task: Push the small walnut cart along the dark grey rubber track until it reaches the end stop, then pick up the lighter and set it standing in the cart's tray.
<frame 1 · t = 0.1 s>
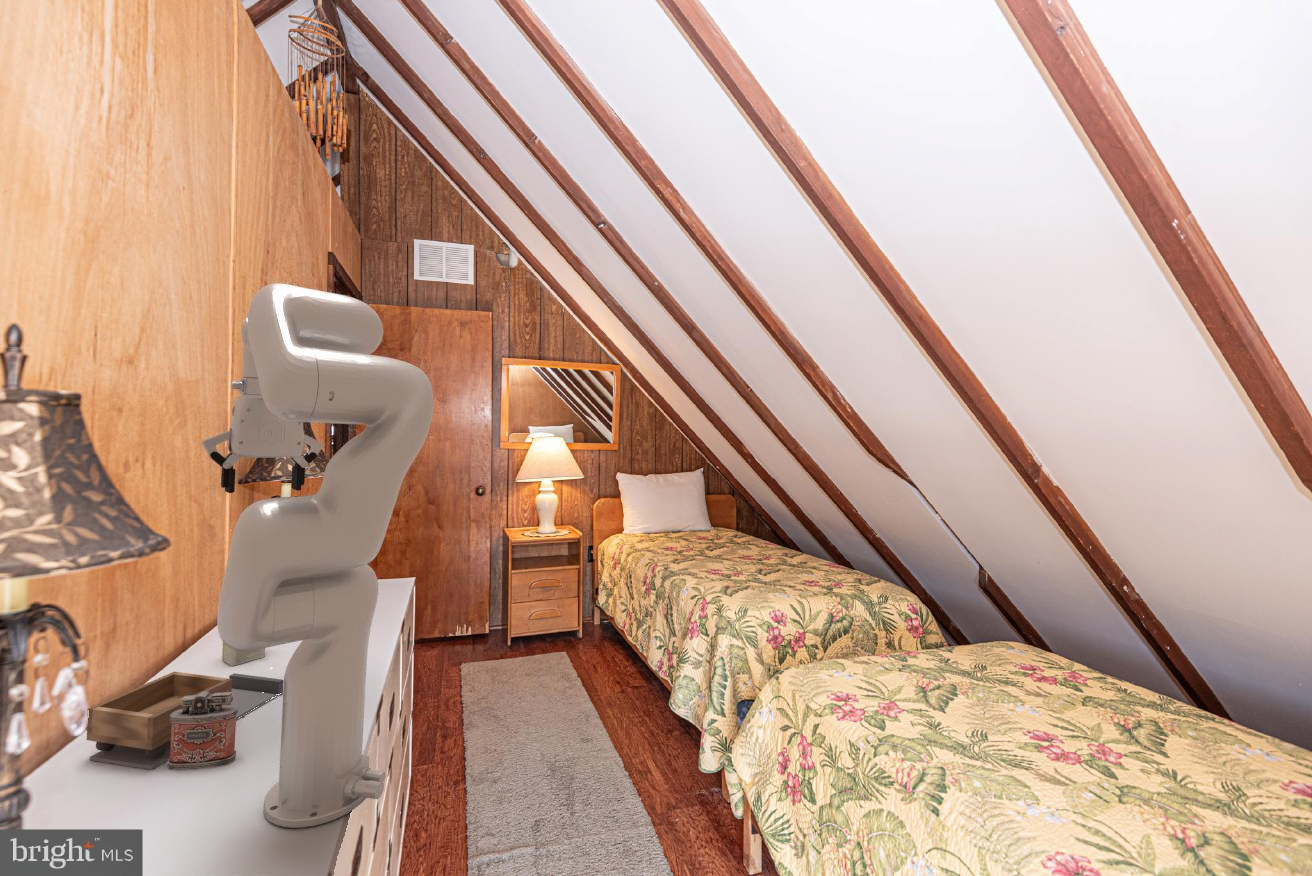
hand: (264, 490, 97), 37 cm above the dresser, tool pointing down, fingers open, 9 cm apart
cart: (163, 714, 86), point 4 cm above the dresser, slide at 0.0 cm
lighter: (202, 763, 82), on the dresser
skincare box: (243, 660, 116), on the dresser
track: (193, 725, 91), on the dresser
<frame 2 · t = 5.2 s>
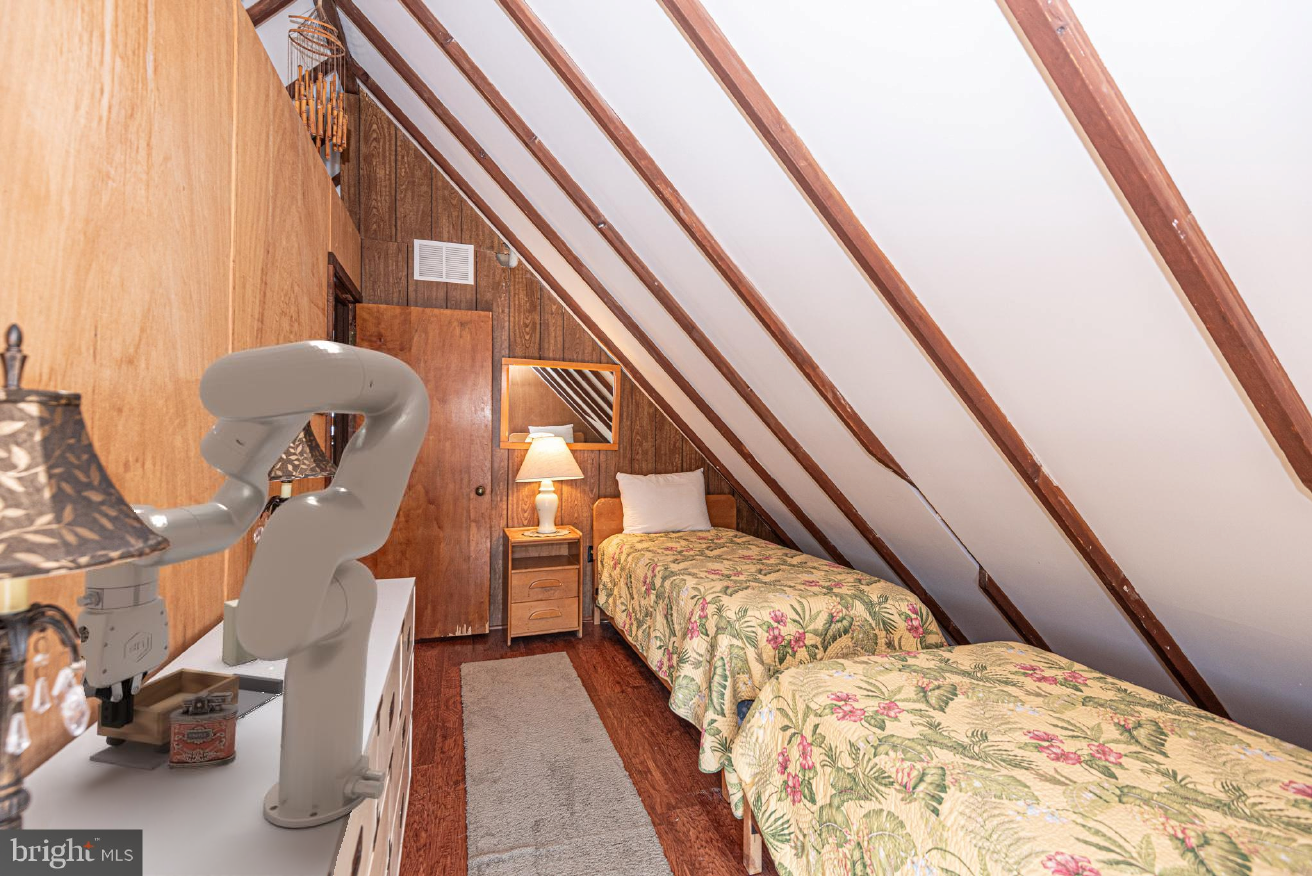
hand: (117, 724, 79), 6 cm above the dresser, tool pointing down, fingers closed
cart: (172, 710, 87), point 4 cm above the dresser, slide at 1.4 cm, touching gripper
everything else where it was.
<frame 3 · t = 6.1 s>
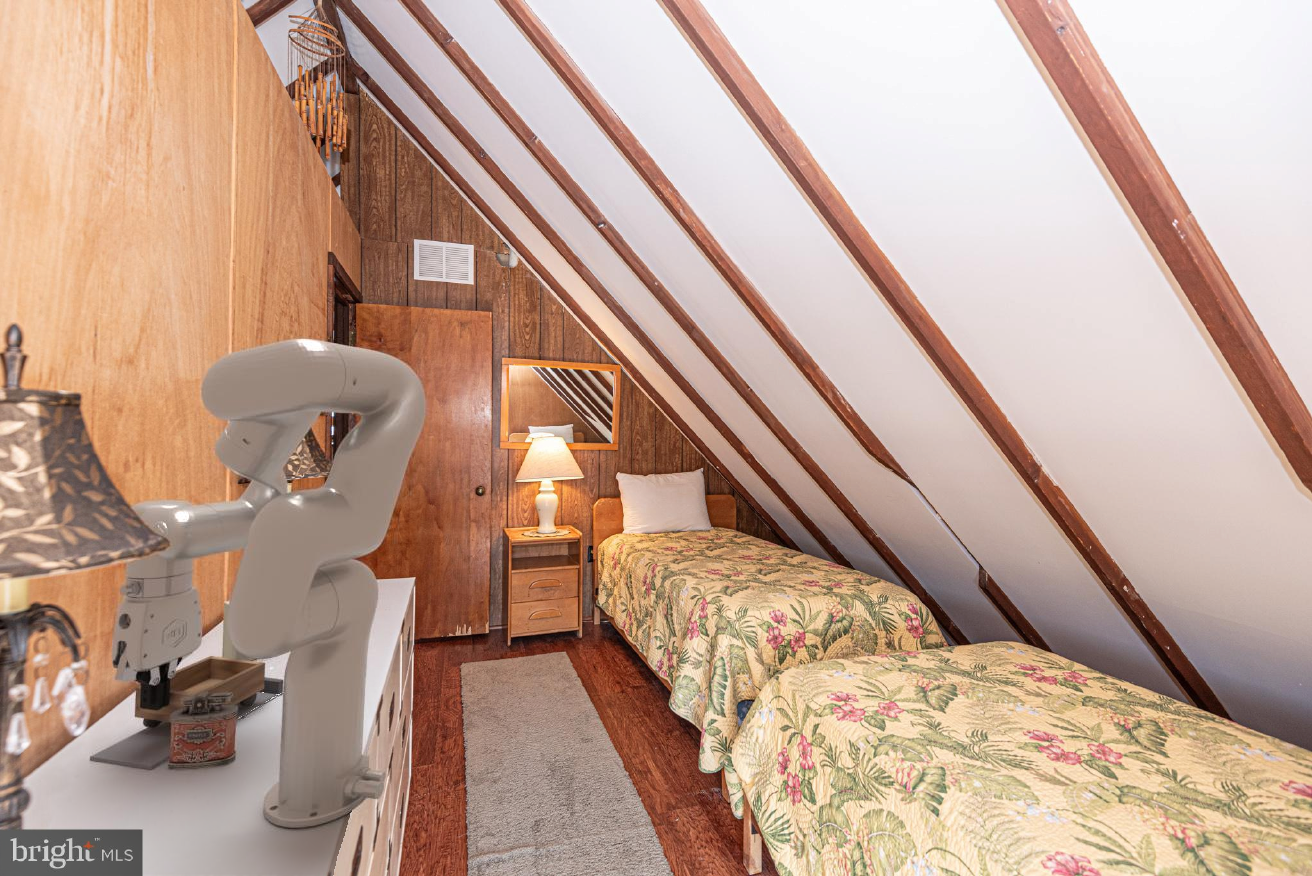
hand: (154, 706, 85), 6 cm above the dresser, tool pointing down, fingers closed
cart: (203, 695, 93), point 4 cm above the dresser, slide at 6.6 cm, touching gripper
everything else where it was.
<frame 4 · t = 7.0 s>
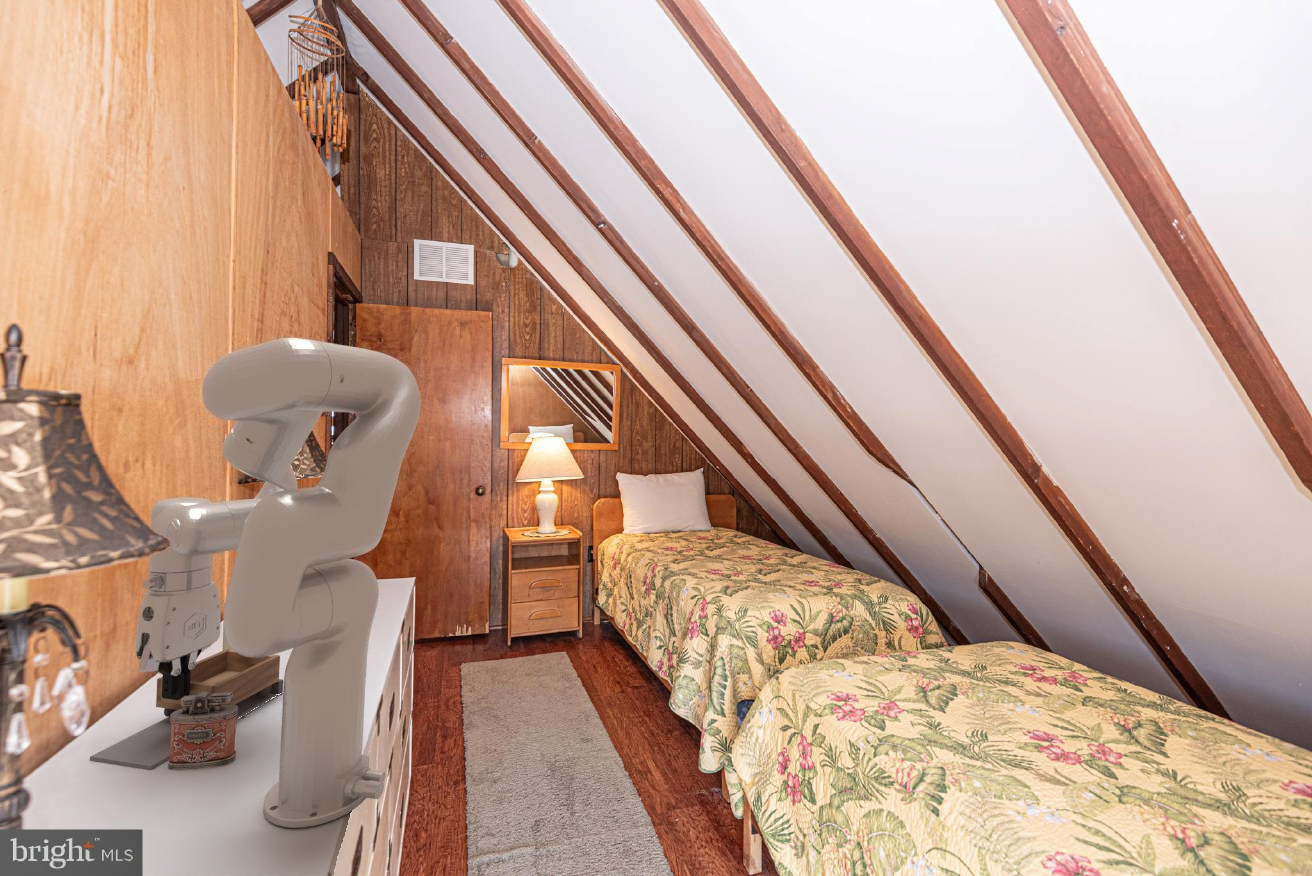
hand: (175, 696, 88), 6 cm above the dresser, tool pointing down, fingers closed
cart: (221, 686, 96), point 4 cm above the dresser, slide at 9.8 cm, touching gripper
everything else where it was.
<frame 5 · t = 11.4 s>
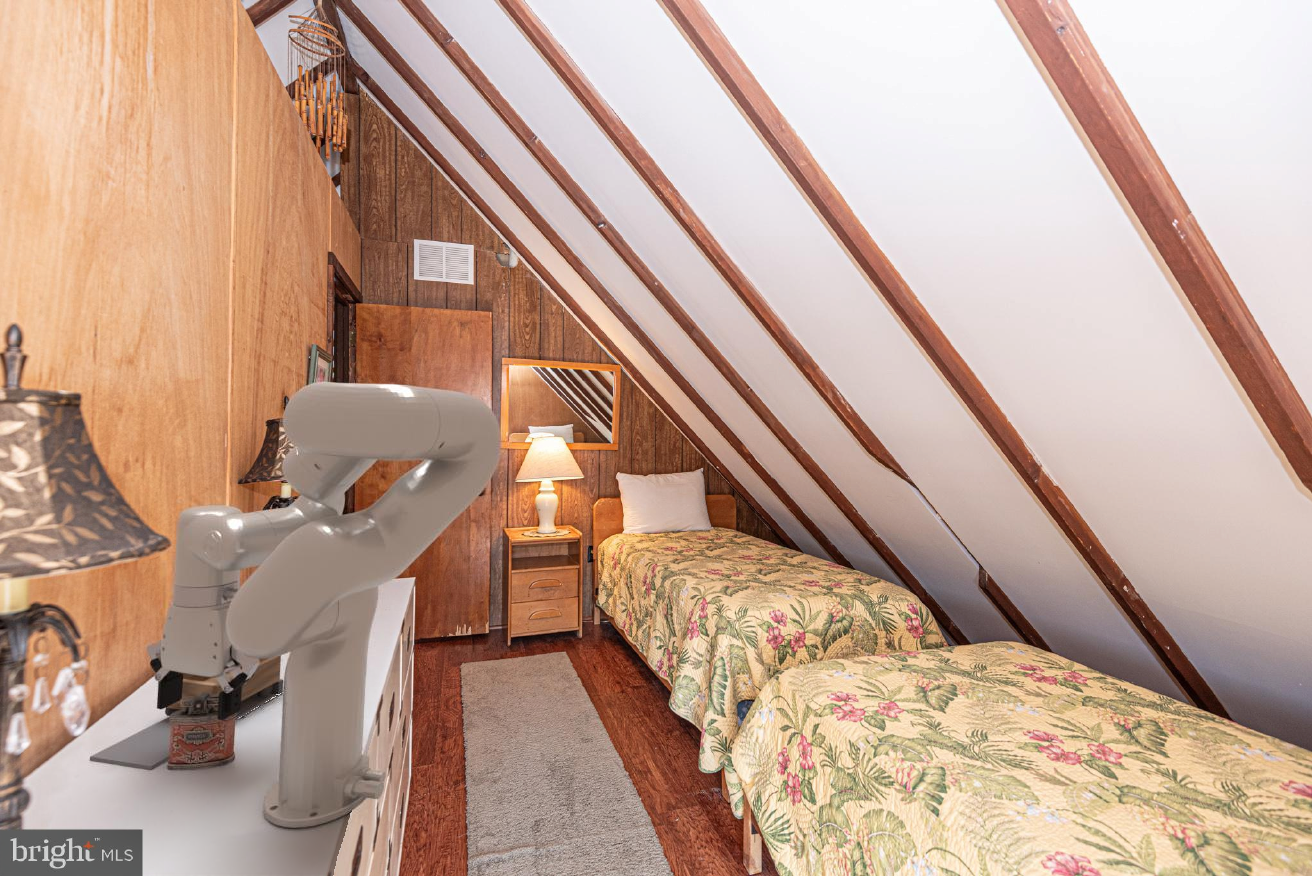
hand: (198, 710, 82), 7 cm above the dresser, tool pointing down, fingers open, 9 cm apart
cart: (222, 685, 96), point 4 cm above the dresser, slide at 10.0 cm
lighter: (201, 764, 82), on the dresser, touching gripper
everything else where it was.
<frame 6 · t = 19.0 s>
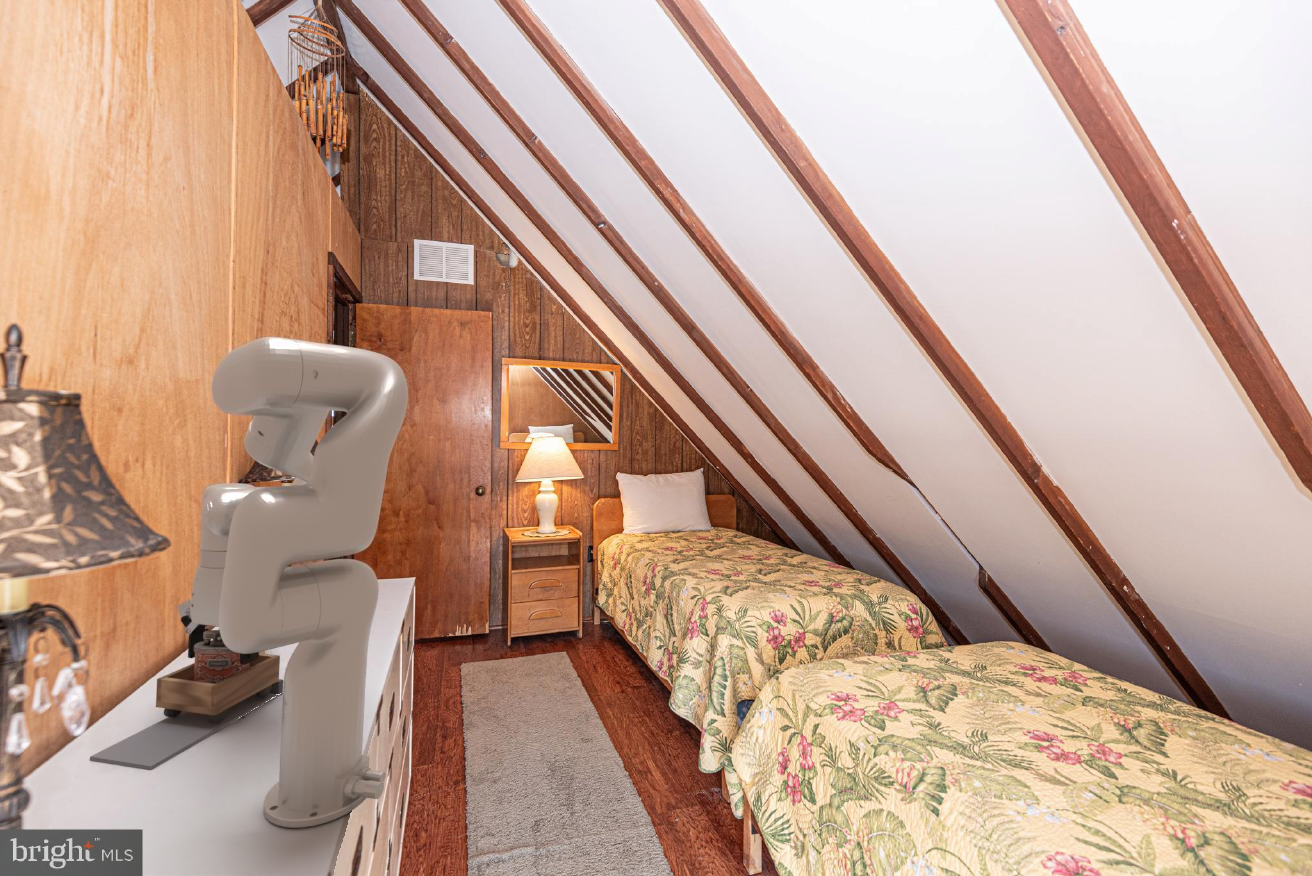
hand: (223, 658, 96), 9 cm above the dresser, tool pointing down, fingers open, 9 cm apart
cart: (221, 686, 96), point 4 cm above the dresser, slide at 9.8 cm, touching lighter
lighter: (221, 687, 96), point 4 cm above the dresser, touching cart
everything else where it was.
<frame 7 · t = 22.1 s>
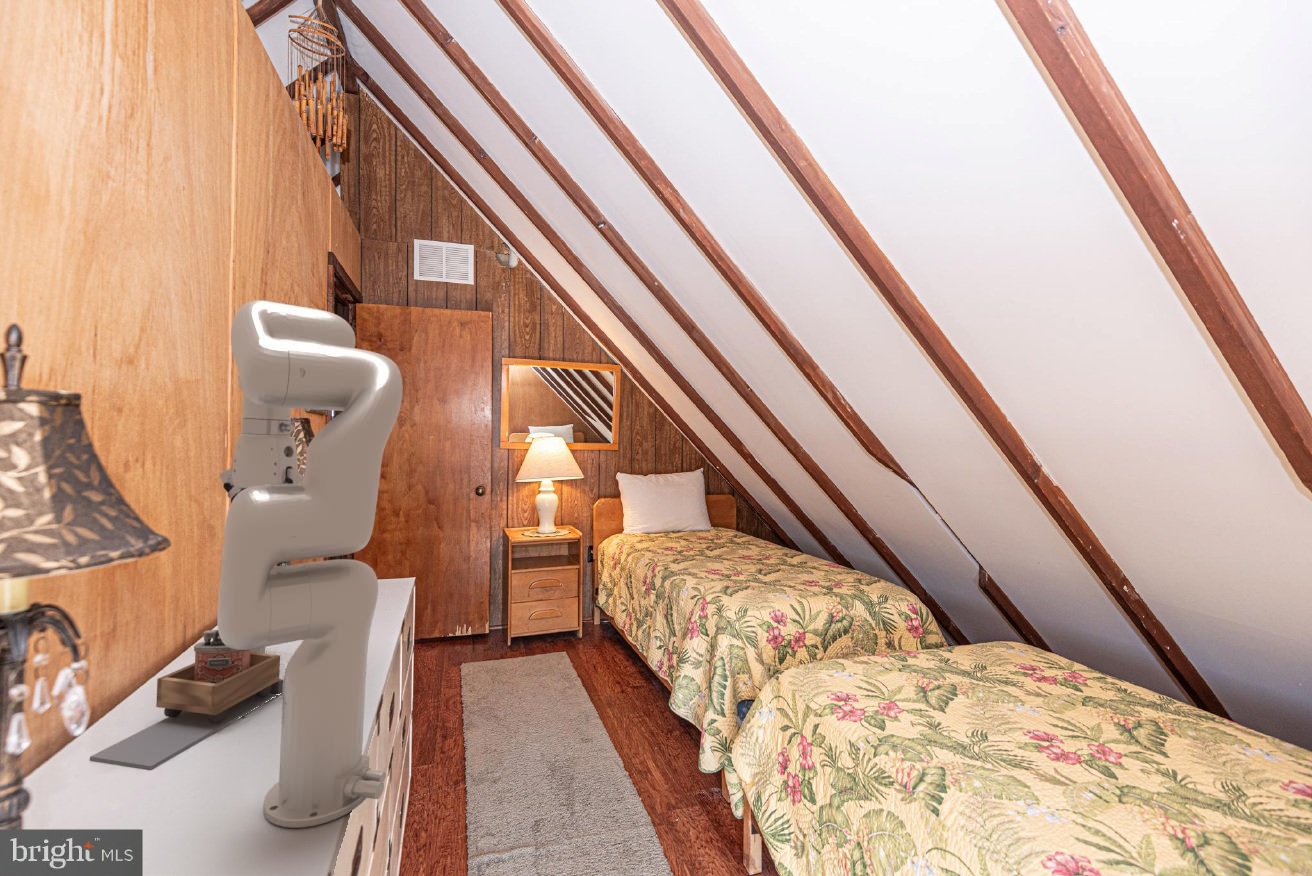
hand: (262, 520, 106), 30 cm above the dresser, tool pointing down, fingers open, 9 cm apart
nothing on the dresser moved.
at the end: cart slide at 9.8 cm; lighter 0.4 cm from the target spot, point 3.8 cm above the dresser; lighter tilted 0° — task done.
